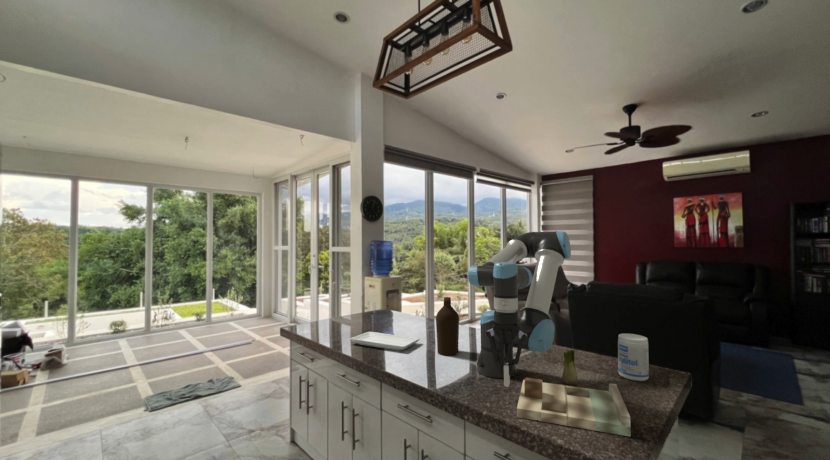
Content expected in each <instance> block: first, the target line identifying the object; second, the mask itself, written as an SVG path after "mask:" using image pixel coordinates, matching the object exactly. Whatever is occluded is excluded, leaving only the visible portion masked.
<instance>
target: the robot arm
mask: <svg viewBox="0 0 830 460" xmlns="http://www.w3.org/2000/svg"><path fill="white" fill-rule="evenodd" d="M570 241H571V240H570V238H569V235H568V233H567V232H565V231H564V230H563V231H562V230H559V231H558V230H555V231H529V232H525V233H521V234H519V235H518V236H515V237H514V238H512V239H511V240H509V241H508V242H507V243H506V245H505V247H503V249H501V250H500V251H498V253H496V254H495V255H493V256H492V257H490V258H489V259H488V260H487V261H485V262H484V263H483V264H481V265H477V264H476V265H471V266H470V267H469V268H468V271H467V280H468V282H469V284H470V285H471V286H477V287H489V288H493V310H492V309H491V310H488V311H484V312H482V313H481V314H480V323H479V326H480V352H479V356H478V357H477V361H476V372H477V373H479V374H480V375H483V376H485V377H488V378H496V379H503V387H507V388H510V384H511V379H510V378H512V377H513V376H516V375H517V373H518V371H517V369H518V368H517V367H518V366H517V365H518V364H519V361H520V357H521V354H522V350H525V351H530V352H532V353H533V352H534V353H535V352H538V353H545V352H547V351H549V349H551V347H552V345H553V342H554V338H555V329H556V328H555V323H554V322H553V321H552V317H551V316H550V314H549V311H550V307H551V302H552V298H553V294H554V290H555V284H556V279H557V275H558V271H559V267H561V266H562V265H563V264H564V262H565V260H568V259H570V258H571V254H572V250H571V247H572V246H571V242H570ZM526 258H528V259H529V258H530V259H535V261H536V264H535V267H534V273H532V271H531V270H530V269H529V268H528V267H525V266H520V265H519V266H518V264H517V262H518V261H522V260H523V259H526ZM527 287H529V290H528V294H527V296H526V297H527V298H526V300H525V301H526V302H525V306H524V307H521V308H520V309H519V296H518V292H519V291H518V290H521V289H522V290H523V289H526V288H527ZM518 310H519V312H518ZM514 348H515V349H516V353H515V358H514Z"/></svg>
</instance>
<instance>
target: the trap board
mask: <svg viewBox="0 0 830 460" xmlns="http://www.w3.org/2000/svg"><path fill="white" fill-rule="evenodd" d="M524 383H525V379H523V380H522V385H521V388H520V393H519V398H518V401H517V406H516V417H517V418H521V419H526V420H531V421H537V420H538V421H539V422H543V423H549V424H554V425H555V424H556V425H561V426H566V427H572V428H579V429H584V430H589V431H596V432H600V433H607V434H613V435H619V436H624V437H631V436H632V432H631V427H632V426H631V415H630V413H629V411H628V408H627V406H626V403H625V401H624V400H623V397H622V394H621V392H620V390H619V388H618V385H617V383H609V382H608V390H602V389H595V388H588V387H587V388H586V387H581V386H575V385H573V386H568V385H566V384H557V383H551V382H543V381H542V387H543V394H542V399H537V398H530V397H525V385H524Z"/></svg>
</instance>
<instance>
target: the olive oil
mask: <svg viewBox="0 0 830 460" xmlns="http://www.w3.org/2000/svg"><path fill="white" fill-rule="evenodd" d="M451 299H452V298H451V296H444V297H443V306H442V307H441V308H440V309H439V310H438V312H436V316H435V326H436V345H437V354H438V355H441V356H446V357H450V356H452V357H453V356H456V355H458V354H459V340H460V339H459V334H460V316H459V314H458V311H456V310H455V308H454V307H453V306H452V301H451Z"/></svg>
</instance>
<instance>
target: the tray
mask: <svg viewBox="0 0 830 460" xmlns="http://www.w3.org/2000/svg"><path fill="white" fill-rule="evenodd" d="M349 340H350V341H352V342H353V343H355V344H357V345H360V346H366V347H374V348H380V349H385V350H386V349H387V350H393V351H399V352H401V351H402V352H403V351H404V350H406V349H408V348H410V347H412V346H413V345H414V344H416V343H418V342H419V341H420V340H421V339H420V338H419V337H415V336H414V337H413V336H412V337H411V336H405V335H398V334H397V335H396V334H389V333H382V332H377V331H367V332H364V333H361V334H358V335H354V336H353V337H349Z"/></svg>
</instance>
